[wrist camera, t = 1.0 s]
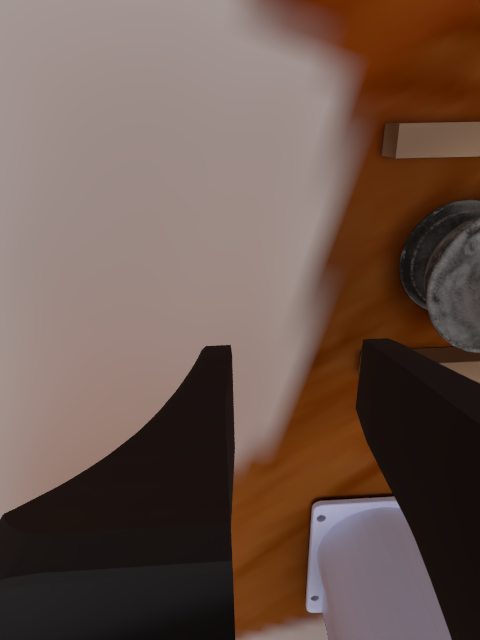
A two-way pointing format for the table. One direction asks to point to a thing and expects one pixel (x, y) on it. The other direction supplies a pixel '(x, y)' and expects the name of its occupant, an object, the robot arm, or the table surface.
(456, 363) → the guide channel
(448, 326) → the grey stone finial
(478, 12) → the table surface
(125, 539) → the robot arm
